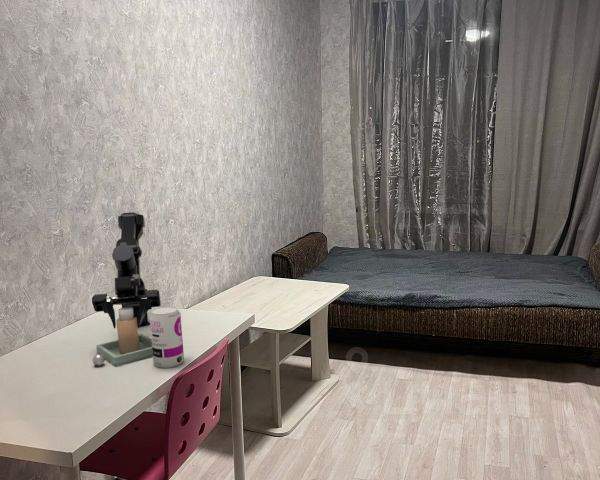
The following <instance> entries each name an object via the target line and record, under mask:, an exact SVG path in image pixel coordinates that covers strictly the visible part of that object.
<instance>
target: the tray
mask: <svg viewBox="0 0 600 480" xmlns="http://www.w3.org/2000/svg"><path fill="white" fill-rule="evenodd" d="M138 337H139V348H140V350H138V351H134V352H130V353H126V354H120V352H119V342H118V339H117V340H112V341H107V342H103V343H99V344H96V353H97V354H101V355H103V356H104V358H105V361H107V362H108V363H110V365H112V366H114V367H119V366H123V365H126V364H130V363H134V362H138V361H141V360H146V359H150V358H153V350H152V339H151V337H148V336H146V335H144V334H142V333H140V334H138ZM97 354H96V355H97Z"/></svg>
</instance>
